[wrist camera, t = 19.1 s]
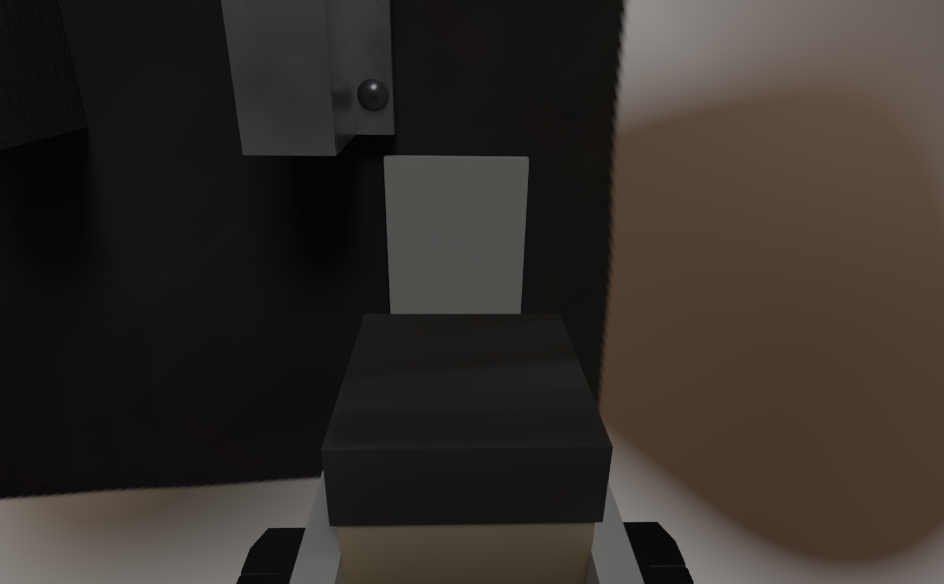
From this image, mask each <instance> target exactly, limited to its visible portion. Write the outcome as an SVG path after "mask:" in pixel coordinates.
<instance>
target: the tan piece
mask: <svg viewBox="0 0 944 584" xmlns="http://www.w3.org/2000/svg"><path fill="white" fill-rule="evenodd" d="M612 449H613V447H612V444H611V441H610V439H609V436H608V434H607V432H606V429H605V426H604V424H603V421H602V419H601V416H600V414H599V411H598V409H597V406H596V404H595V401H594V399H593V396H592V394H591V392H590V389H589V387H588V384H587V382H586V379H585V377H584V374H583V372H582V369H581V367H580V364H579V362H578V359H577V357H576V354H575V352H574V349H573V347H572V344H571V342H570V339H569V337H568V334H567V332H566V329H565V327H564V324H563V322H562V319H561V317H560V314H365V315H364V318H363V321H362V324H361V328H360V331H359V334H358V337H357V340H356V343H355V346H354V349H353V352H352V356H351V359H350V362H349V365H348V368H347V371H346V374H345V377H344V380H343V384H342V387H341V390H340V393H339V396H338V399H337V402H336V405H335V408H334V412H333V415H332V418H331V421H330V424H329V427H328V430H327V433H326V436H325V439H324V443H323V446H322V449H321V453H322V462H323V472H324V481H325V490H326V500H327V509H328V518H329V526H337V533H338V543H339V553H341V556H342V567H343V577H344V584H586V581H587V574H588V566H589V558H590V550H591V549H592V544H593V536H594V528H595V523H599V522H603V517H604V510H605V502H606V495H607V487H608V479H609V472H610V464H611V457H612Z"/></svg>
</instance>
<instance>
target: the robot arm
mask: <svg viewBox="0 0 944 584" xmlns="http://www.w3.org/2000/svg"><path fill="white" fill-rule="evenodd" d="M693 583H694V582H693V580H692V577H691V575H690V573H689V571H688V569H687V568H686V567H685V562H684V559H683V557H682V555H681V553H680V550H679V548H678V546H677V544H676V541H675V540H674V539H673V538H672V537H671V536H670V535H669V534H668V533H667V532H666V531H665V530H664V529H663V528H662V526H661V525H660V524H659V523H658V522H622V519H621V516H620V513H619V510H618V507H617V505H616V502H615V499H614V496H613V493H612V491H611V488H610V485H609V482H608V487H607V495H606V502H605V510H604V517H603V522H599V523H595V528H594V536H593V544H592V549H591V550H590V558H589V566H588V574H587V581H586V584H693ZM236 584H344V577H343V567H342V556H341V553H339V543H338V533H337V526H329V518H328V509H327V500H326V490H325V481H324V472H322V475H321V478H320V482H319V485H318V488H317V492H316V495H315V499H314V502H313V505H312V509H311V512H310V515H309V519H308V522H307V526H306V528H268V529H267V530H266V531H265V532H264V534H263V535H262V536H261V537H260V538H259V539H258V540H257V541H256V543H255V544H254V545H253V546H252V547H251V548H250V551H249V553H248V556H247V558H246V561H245V563H244V566H243V568H242V571H241V576H240V577H239V579H238V581H237V583H236Z"/></svg>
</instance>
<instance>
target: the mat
mask: <svg viewBox="0 0 944 584" xmlns="http://www.w3.org/2000/svg"><path fill="white" fill-rule="evenodd" d="M528 168H529V159H528V157H502V156H405V155H385V157H384V174H385V196H386V219H387V242H388V264H389V287H390V309H391V314H520V312H521V294H522V276H523V258H524V240H525V222H526V204H527V186H528Z"/></svg>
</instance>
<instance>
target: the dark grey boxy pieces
mask: <svg viewBox="0 0 944 584" xmlns="http://www.w3.org/2000/svg"><path fill="white" fill-rule="evenodd" d="M221 3H222V10H223V17H224V24H225V31H226V38H227V45H228V52H229V59H230V66H231V74H232V81H233V88H234V95H235V102H236V109H237V116H238V123H239V130H240V137H241V145H242V152H243V155H292V156H336V155H337V154H338V153H339V152H340V151H341V150H342V149H343V148H344V147H345V146H346V145H347V144H348V143H349V142H350V141H351V140H352V138H353V137H354V136H355V135H356V134H364V135H394V134H395V133H396V106H395V77H394V49H393V20H392V0H221ZM83 128H87V124H86V120H85V116H84V112H83V108H82V103H81V99H80V95H79V91H78V87H77V83H76V79H75V75H74V71H73V66H72V62H71V58H70V54H69V50H68V46H67V42H66V38H65V34H64V29H63V25H62V21H61V17H60V13H59V9H58V5H57V1H56V0H0V150H1V149H5V148H9V147H12V146H16V145H20V144H24V143H28V142H32V141H36V140H40V139H44V138H48V137H52V136H56V135H59V134H63V133H67V132H71V131H75V130H79V129H83Z"/></svg>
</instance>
